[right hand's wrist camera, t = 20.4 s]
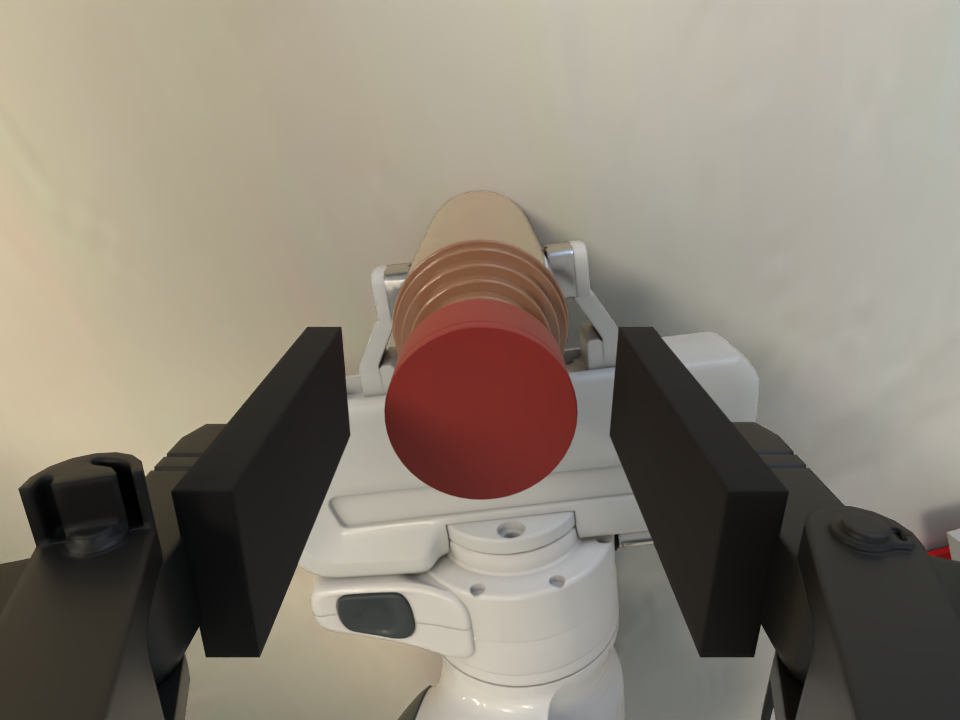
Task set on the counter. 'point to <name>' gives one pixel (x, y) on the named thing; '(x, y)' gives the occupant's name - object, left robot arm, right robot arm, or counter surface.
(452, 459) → the cap
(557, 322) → the bottle
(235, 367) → the counter surface
